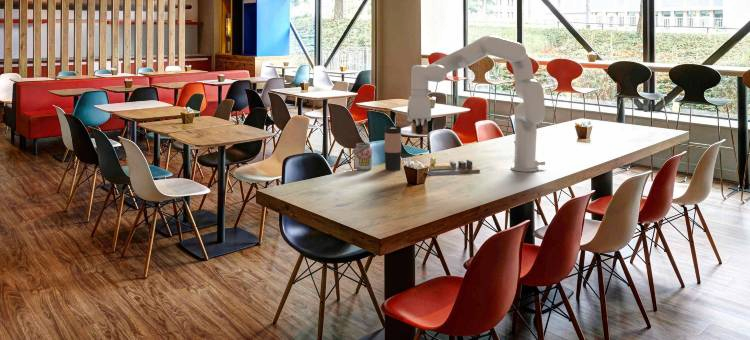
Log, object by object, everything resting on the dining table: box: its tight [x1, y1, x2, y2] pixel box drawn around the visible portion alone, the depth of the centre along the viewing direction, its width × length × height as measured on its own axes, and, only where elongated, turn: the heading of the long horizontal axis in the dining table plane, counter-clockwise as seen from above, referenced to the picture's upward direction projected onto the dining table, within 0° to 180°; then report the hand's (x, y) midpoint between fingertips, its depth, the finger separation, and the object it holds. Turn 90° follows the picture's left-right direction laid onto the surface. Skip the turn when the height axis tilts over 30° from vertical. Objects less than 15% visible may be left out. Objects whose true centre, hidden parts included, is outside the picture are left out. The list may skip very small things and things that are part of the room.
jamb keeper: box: [456, 159, 481, 175], centre depth 315 cm, size 10×9×5 cm
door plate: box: [427, 160, 460, 176], centre depth 313 cm, size 14×9×5 cm, turn 101°
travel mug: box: [384, 125, 402, 172], centre depth 319 cm, size 8×8×20 cm
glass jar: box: [351, 142, 373, 171], centre depth 321 cm, size 9×8×12 cm
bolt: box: [426, 157, 453, 170], centre depth 312 cm, size 12×2×5 cm, turn 101°
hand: (419, 133), depth 307 cm, fingers closed
